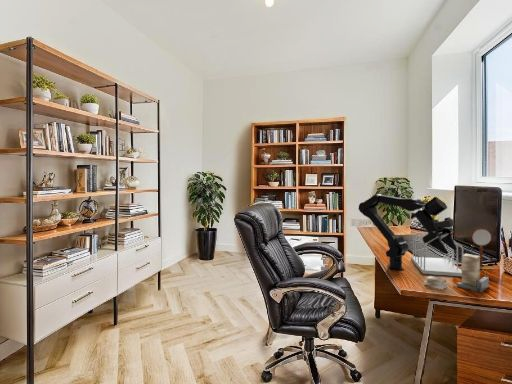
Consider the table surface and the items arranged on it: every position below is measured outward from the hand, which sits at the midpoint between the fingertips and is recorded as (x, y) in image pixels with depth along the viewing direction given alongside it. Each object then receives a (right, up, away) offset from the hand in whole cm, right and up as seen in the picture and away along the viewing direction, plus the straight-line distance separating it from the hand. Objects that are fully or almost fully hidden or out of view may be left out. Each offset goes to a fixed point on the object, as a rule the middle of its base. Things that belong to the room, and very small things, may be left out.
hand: (451, 251), depth 130 cm
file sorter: (+5, -12, +21) cm, 25 cm away
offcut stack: (-9, -14, -3) cm, 17 cm away
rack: (+5, -14, -4) cm, 15 cm away
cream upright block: (+5, -14, -4) cm, 15 cm away
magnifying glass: (+25, -12, +17) cm, 33 cm away
